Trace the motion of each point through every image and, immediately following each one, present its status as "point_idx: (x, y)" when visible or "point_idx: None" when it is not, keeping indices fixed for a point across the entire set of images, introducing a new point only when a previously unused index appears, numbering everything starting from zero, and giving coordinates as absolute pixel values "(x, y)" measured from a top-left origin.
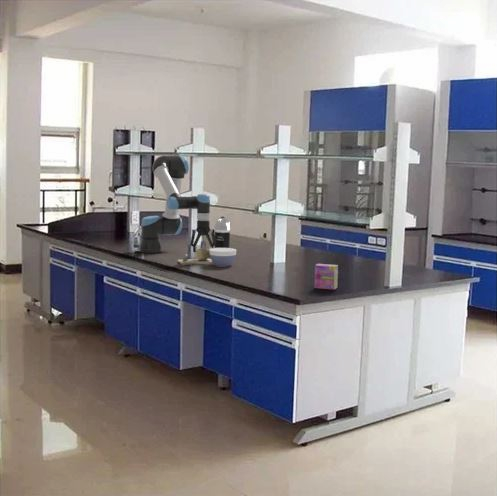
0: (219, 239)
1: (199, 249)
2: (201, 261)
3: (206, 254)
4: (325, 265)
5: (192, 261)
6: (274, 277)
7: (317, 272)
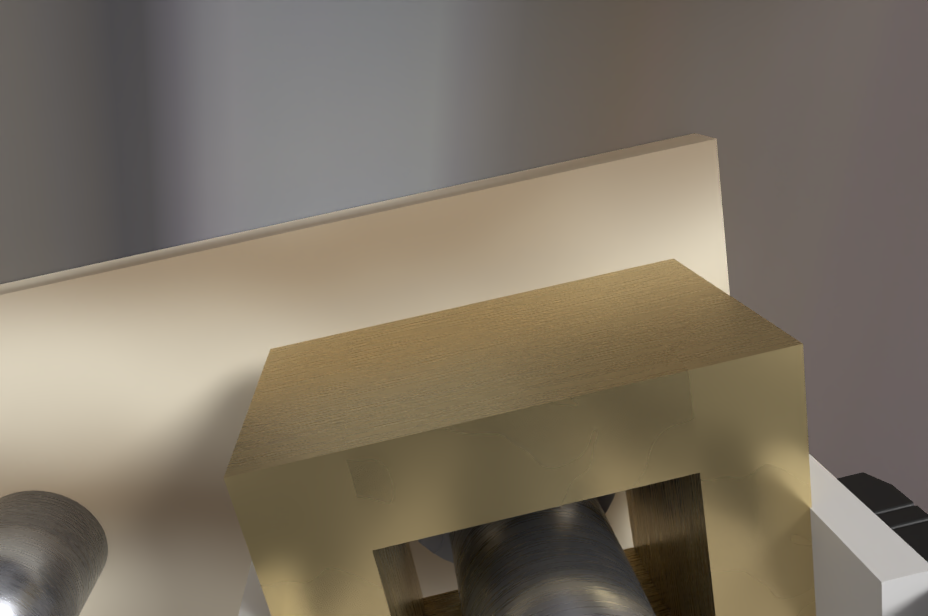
0: None
1: (434, 525)
2: (446, 580)
3: None
4: None
5: (229, 588)
6: None
7: None
